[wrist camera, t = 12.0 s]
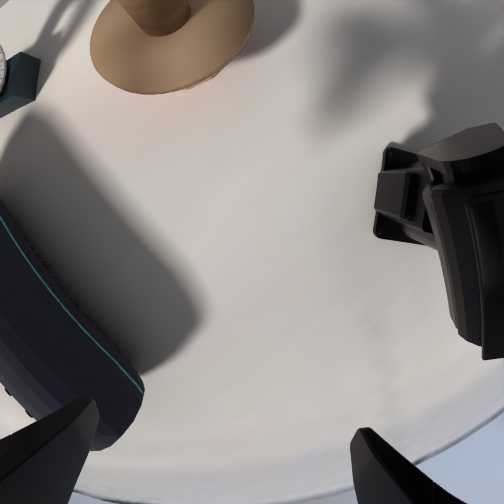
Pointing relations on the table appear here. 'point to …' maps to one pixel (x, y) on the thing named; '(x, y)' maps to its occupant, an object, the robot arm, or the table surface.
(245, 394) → the table surface
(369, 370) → the table surface
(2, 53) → the watch
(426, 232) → the robot arm
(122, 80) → the lid
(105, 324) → the table surface
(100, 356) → the portable speaker
